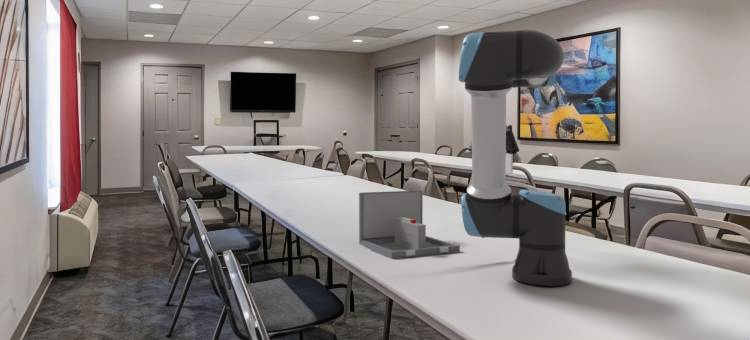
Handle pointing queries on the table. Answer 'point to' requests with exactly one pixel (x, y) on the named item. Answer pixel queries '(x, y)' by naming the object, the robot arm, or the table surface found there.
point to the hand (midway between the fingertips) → (493, 173)
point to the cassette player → (409, 233)
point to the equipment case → (393, 222)
